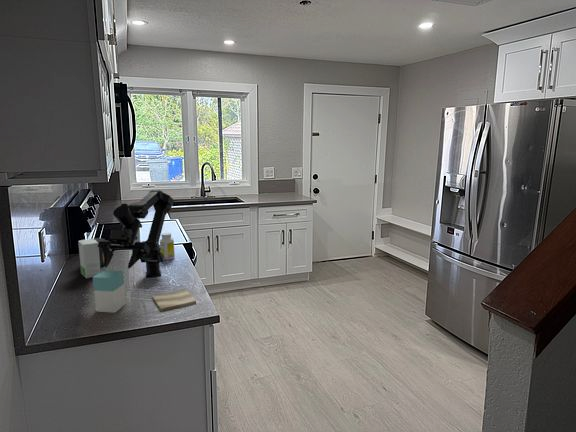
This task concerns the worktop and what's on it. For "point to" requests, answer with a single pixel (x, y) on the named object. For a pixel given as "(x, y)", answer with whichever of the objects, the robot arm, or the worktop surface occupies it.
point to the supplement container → (100, 252)
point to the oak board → (173, 299)
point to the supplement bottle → (167, 246)
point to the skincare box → (89, 257)
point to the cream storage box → (110, 300)
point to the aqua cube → (108, 280)
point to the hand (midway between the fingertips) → (116, 267)
